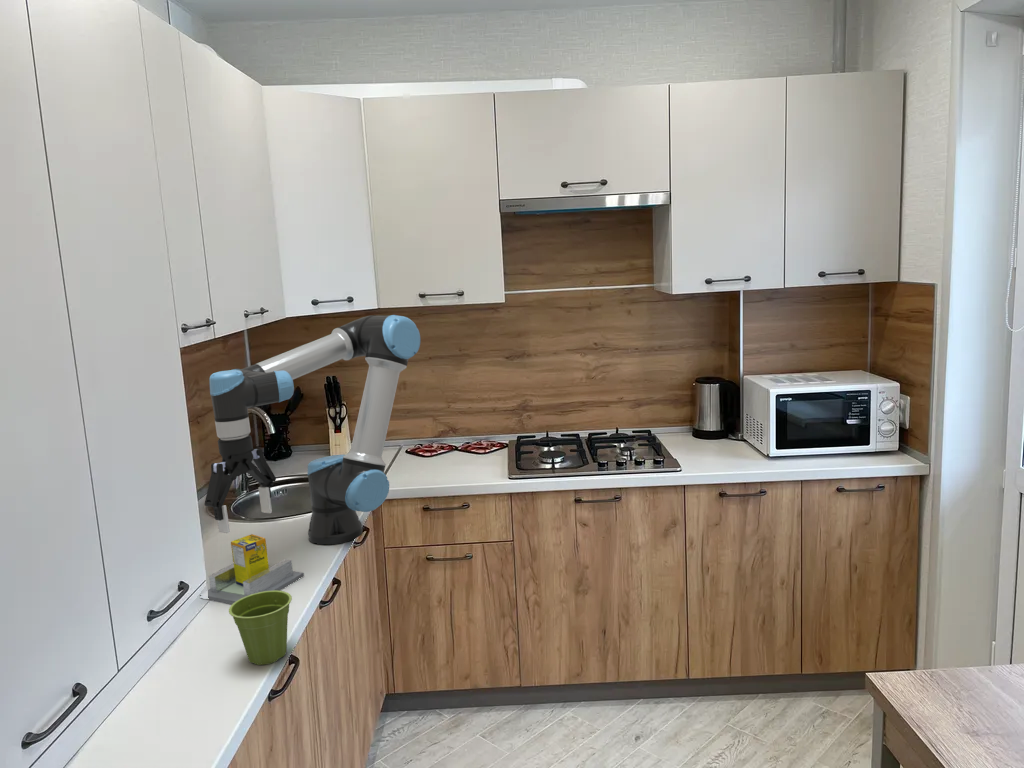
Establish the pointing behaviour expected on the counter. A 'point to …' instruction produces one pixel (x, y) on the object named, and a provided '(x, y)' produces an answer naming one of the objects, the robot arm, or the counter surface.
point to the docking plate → (250, 582)
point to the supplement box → (249, 557)
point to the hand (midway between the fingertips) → (246, 522)
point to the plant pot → (263, 624)
